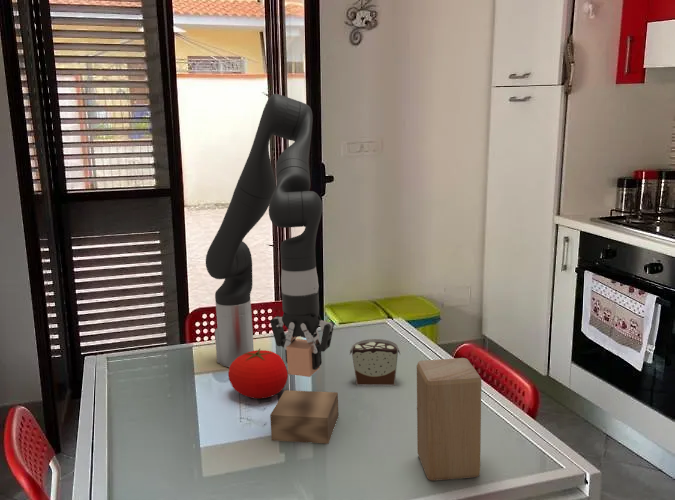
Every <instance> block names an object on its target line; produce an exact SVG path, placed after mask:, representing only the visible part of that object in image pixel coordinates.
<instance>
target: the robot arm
mask: <svg viewBox="0 0 675 500" xmlns="http://www.w3.org/2000/svg"><path fill="white" fill-rule="evenodd" d="M313 120H314V118H313V111H312V108H311V107H310V105H308V104H307V103H304V102H302V101H300V100H296V99H294V98H290V97H289V96H285V95H283V94H278V93H273V94H271V95H270V96H269V98H268V100H266V103H265V105H264V108H263V111H262V113H261V116H260V120H259V123H258V126H257V130H256V132H255V136H254V140H253V142H252V146H251V148H250V151H249V154H248V157H247V159H246V161H245V163H244V166H243V169H242V171H241V172H240V175H239V178H238V181H237V183H236V185H235V188H234V191H233V193H232V197H231V198H230V199H231V200H230V201H229V205H228V206H227V210H226V212H225V215H224V217H223V219H222V221H221V224H220V227H219V228H218V231H217V232H216V234H215V236H214V238H213V239H212V241H211V244H210V245H209V248H208V250H207V252H206V255H205V268H206V271H207V273H208V274H209V276H210V277H212V278H213V279H216V280H224V281H223V282H222V284H221V285H220V287H218V288H217V290H216V291H215V294H214V298H215V312H216V323H217V328H215V329H214V339H215V349H216V350H215V351H216V363H217V364H220V365H222V366H223V367H227V368H229V367H230V365H231V364H232V362H233V361H234V360H235V359H236V358H237V357H239V356H241V355H243V353H248V352H251V351H255V349H254V348H255V347H254V334H253V333H254V332H253V317H252V304H251V301H252V300H251V294H252V290H253V258H252V253H251V250H250V248H249V246H248V244H247V243H245V242H244V239H245V237H246V236H247V235H248V234H249V233H250V231H252V229H253V228H254V227H255V226H256V225H257V224H258V223H259V221H260V220H261V219H262V217H263V216H264V215H265V214H266V212H267V211H268V215H269V216H268V217H269V220H270V221H271V223H272V224H273V225H275V226H276V227H278V228H280V229H281V228H282V229H284V228H285V229H286V228H300V227H304V230H303V232H302V233H301V234H299V235H296V236H293V237H289V238H286V239H284V240H282V241H281V243H280V246H279V247H280V262H281V263H280V265H281V266H280V267H281V273H280V274H281V275H280V287H281V303H282V312H283V315H282V316H279V315H277V316H275V317H273V318H272V319H270V321H269V322H270V326H271V331H272V333H273V337H274V341H275V344H276V346H277V347H282V348H283V349H284V352H285V353H284V354H285V363H287V348H286V347H287V346H288V345H291V343H292V342H294V341H295V340H296V339H298V338H299V337H301V338H303V339H305V340H307V342H308V344H310V347H311V349H312V352H313V353H312V368H313V370H317V369H318V368H319V366H320V367H321V365H322V364H323V363H322V359H323V358H322V352H323V353H324V352H326V351H327V349H328V348H330V347H331V340H332V336H333V332H334V328H335V323H334V321H332V320H330V321H329V322H328V321H325V320H322V318H321V315H320V301H319V299H320V298H319V296H320V295H319V287H320V285H319V277H318V273H317V272H318V271H317V261H316V260H317V259H316V243H317V241H316V240H317V234H318V229H319V225H320V221H321V218H322V213H323V201H322V199H321V197H320V196H319V194H318V193H317V192H315V191H313V190H311V184H312V183H311V174H310V173H311V172H310V165H309V164H310V163H309V161H310V159H309V158H310V150H311V142H312V131H313V122H314V121H313ZM272 136H276V137H279V138H282V139H285V140H288V141H291V142H293V143H292V144H291V145H289V146H288V147H287V148H285V149H284V150H283V151H282V152H281V153H280V155H279V157H278V158H277V161H276V165H275V167H276V168H275V172H276V173H274V169H273V166H272V165H273V164H272V161H271V156H270V147H269V146H270V140H271V137H272ZM275 174H276V175H275ZM275 176H276V177H275ZM284 326H285V327H286V329H287V333H286V334H285V331H284ZM319 327H320V332H321V333H322V335H321V340H320V335H319V334H320V333H319V331H318V329H319ZM319 369H320V368H319ZM319 369H318V370H319ZM318 370H317V371H318Z"/></svg>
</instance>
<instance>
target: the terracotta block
mask: <svg viewBox="0 0 675 500" xmlns="http://www.w3.org/2000/svg"><path fill="white" fill-rule="evenodd" d="M286 348H287V362H286V364H287V372H288V375H292V376H300V377H307V378H311V376H313V375H314V374H315V373H316V372H317V371H318V370H319V369H320V368H321V365H320V366H319V368H318V369H317V370H313V368H312V353H313V352H312V349H311V347H310V344H308V342H307V340H306V339H305V338H303V339H302V338H296V340H295V341H294V342H292V343H291V345H288V346H287V347H286Z"/></svg>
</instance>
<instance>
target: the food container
mask: <svg viewBox="0 0 675 500" xmlns="http://www.w3.org/2000/svg"><path fill="white" fill-rule="evenodd" d="M400 352H401V351H400V348H399V346H398V344H397V343H396V342H394V341H392V340H389V339H382V338H368V339H362V340H359V341H356V342H354V343H353V344H351V348H350V350H349V355H351V356H352V363H353V364H352V365H353V369H354V376H355V383H356V386H373V385H374V386H376V387H377V386H378V387H379V386H380V387H381V386H384V387H385V386H386V387H387V386H389V387H390V386H392V387H395V386H396V378H397V377H396V376H397V367H398V365H397V364H398V356H399V355H401V353H400ZM398 354H399V355H398Z"/></svg>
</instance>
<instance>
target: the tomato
mask: <svg viewBox="0 0 675 500" xmlns="http://www.w3.org/2000/svg"><path fill="white" fill-rule="evenodd" d="M288 377H289V374H288V368H287V366H286V363H285V362H284V360H283V358H282V357H281V356H280V355H279V354H277V353H275V352H273V351H271V350H264V349H261V348H259V349H258V350H254V351H251V352H248V353H243V355H241V356H239V357H237V358H236V359H235V360H234V361H233V362H232V364H231V365H230V367H228V380H229V383H230V385H231V387H232V388H233V389H234V390H235V391H236V392H237V393H239V394H241V395H242V396H244V397H248V398H251V399H258V400H259V399H267V398H270V397H273V396H275V395H277V394H279V393H280V392H281V391H282V390H283V389H284V388H285V386H286V384H287V380H288Z"/></svg>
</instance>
